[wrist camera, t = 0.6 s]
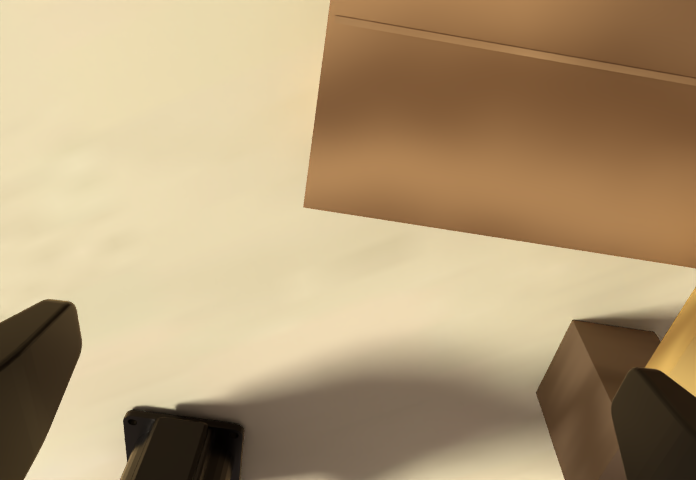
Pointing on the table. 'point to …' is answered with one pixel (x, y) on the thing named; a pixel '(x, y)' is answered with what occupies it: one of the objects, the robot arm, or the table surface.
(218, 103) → the table surface
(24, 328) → the robot arm
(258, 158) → the table surface
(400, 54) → the plank
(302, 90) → the table surface
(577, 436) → the mallet
